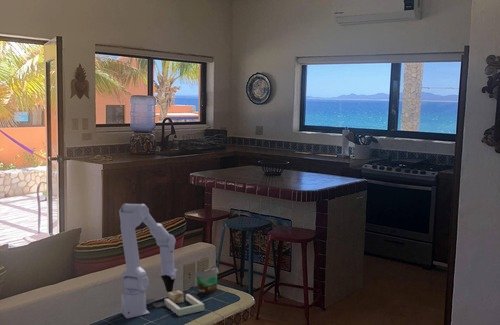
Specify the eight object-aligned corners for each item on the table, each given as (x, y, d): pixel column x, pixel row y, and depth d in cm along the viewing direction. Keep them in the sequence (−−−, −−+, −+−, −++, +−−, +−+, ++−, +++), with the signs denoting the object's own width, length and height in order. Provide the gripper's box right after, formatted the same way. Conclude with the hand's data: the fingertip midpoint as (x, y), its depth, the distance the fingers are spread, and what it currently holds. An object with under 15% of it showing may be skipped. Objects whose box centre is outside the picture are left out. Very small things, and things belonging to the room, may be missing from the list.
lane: (178, 316, 210) (178, 309, 209) (164, 304, 224) (164, 298, 224) (204, 310, 215) (204, 304, 215) (189, 299, 229) (188, 293, 229)
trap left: (156, 308, 221) (156, 307, 221) (152, 304, 225) (151, 303, 225) (166, 305, 223) (166, 305, 223) (162, 302, 228) (162, 301, 228)
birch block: (172, 304, 224) (172, 295, 224) (168, 301, 229) (167, 292, 228) (184, 302, 227) (183, 292, 226) (179, 299, 231) (178, 290, 231)
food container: (207, 296, 233) (205, 273, 232) (196, 293, 237) (195, 271, 236) (225, 288, 243) (224, 266, 242) (215, 286, 246) (213, 264, 246)
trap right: (190, 300, 228) (190, 300, 228) (185, 297, 232) (185, 296, 232) (200, 298, 230) (199, 297, 230) (195, 295, 235) (195, 294, 235)
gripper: (182, 262, 229) (184, 293, 230) (170, 256, 242) (172, 285, 243) (166, 265, 226) (168, 297, 227) (155, 258, 239) (157, 288, 239)
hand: (169, 291), depth 235 cm, fingers closed
